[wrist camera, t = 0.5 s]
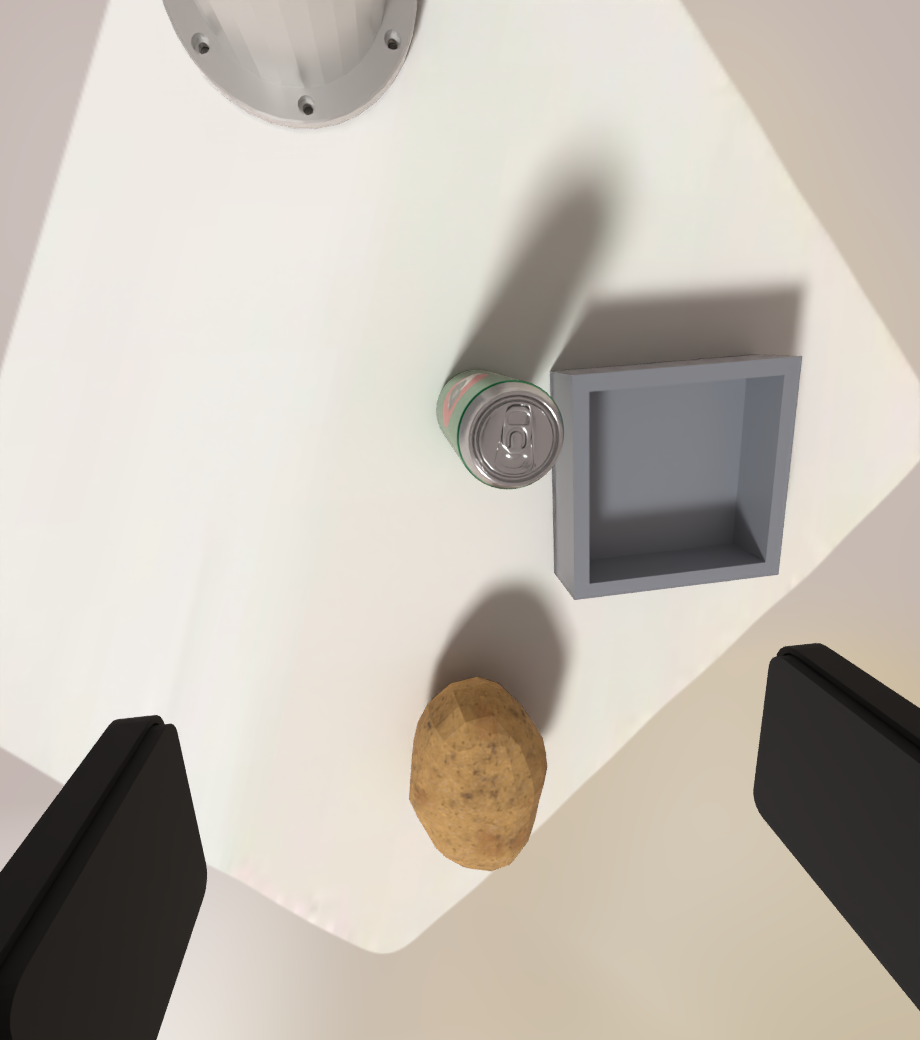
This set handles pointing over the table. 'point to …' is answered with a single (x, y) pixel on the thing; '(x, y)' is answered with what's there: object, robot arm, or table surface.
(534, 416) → the soda can
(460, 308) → the table surface
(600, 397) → the bin
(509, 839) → the potato
